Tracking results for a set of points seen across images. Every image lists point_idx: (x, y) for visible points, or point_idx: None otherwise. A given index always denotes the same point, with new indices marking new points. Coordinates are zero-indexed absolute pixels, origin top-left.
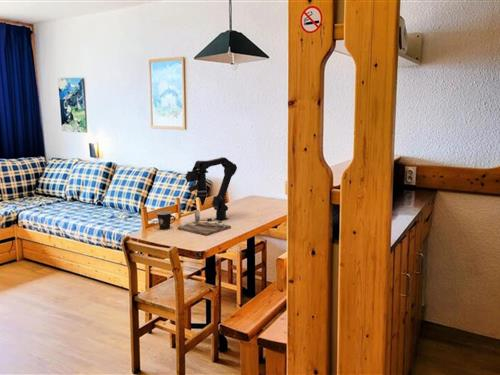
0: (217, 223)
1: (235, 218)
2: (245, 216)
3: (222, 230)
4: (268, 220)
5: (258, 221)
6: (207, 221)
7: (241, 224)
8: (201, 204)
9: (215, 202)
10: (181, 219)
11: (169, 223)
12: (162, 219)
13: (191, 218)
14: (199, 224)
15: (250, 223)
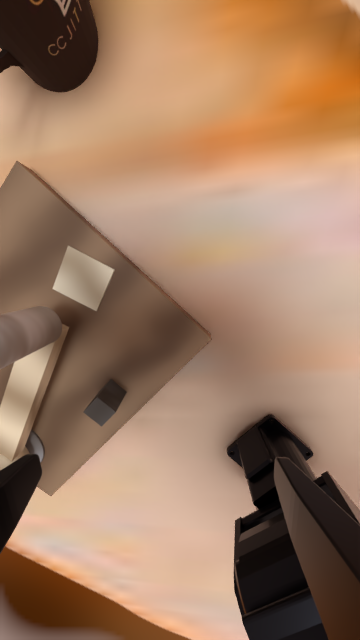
0: None
1: None
2: None
3: None
4: (187, 626)
5: (175, 594)
6: (30, 397)
7: (127, 529)
8: (9, 467)
9: (286, 600)
10: (345, 155)
11: (5, 49)
12: None
13: (353, 246)
14: (84, 328)
15: (142, 563)
